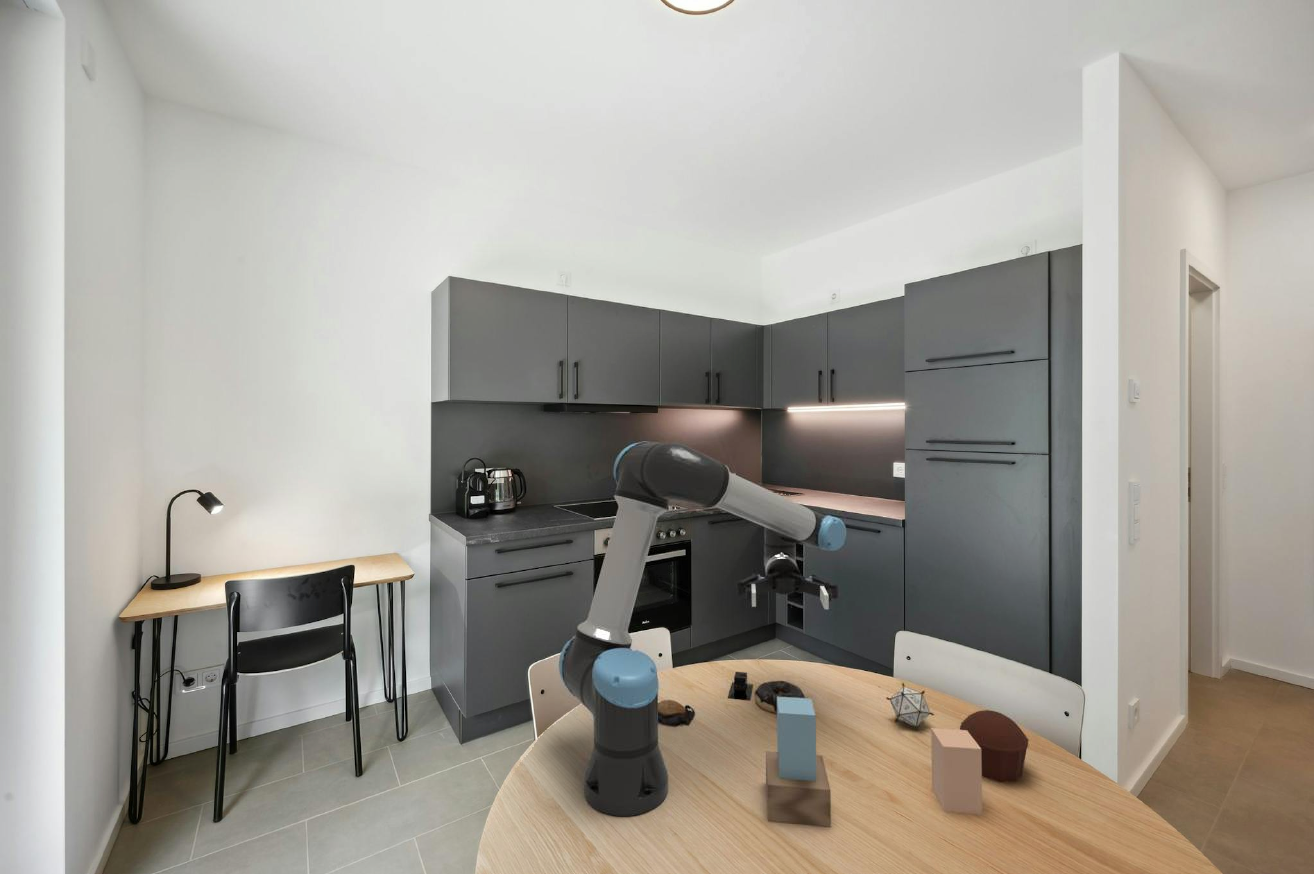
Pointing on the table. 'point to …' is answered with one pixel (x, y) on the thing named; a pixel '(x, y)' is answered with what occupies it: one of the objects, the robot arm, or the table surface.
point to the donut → (775, 694)
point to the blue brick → (796, 738)
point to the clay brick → (956, 771)
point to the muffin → (998, 744)
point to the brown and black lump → (674, 713)
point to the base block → (798, 795)
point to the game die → (910, 706)
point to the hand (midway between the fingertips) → (789, 601)
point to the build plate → (740, 687)
